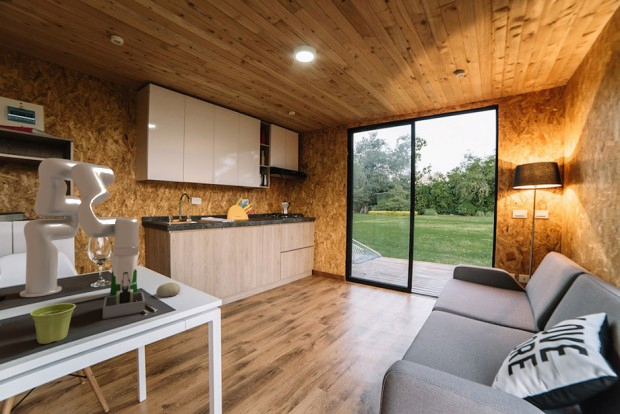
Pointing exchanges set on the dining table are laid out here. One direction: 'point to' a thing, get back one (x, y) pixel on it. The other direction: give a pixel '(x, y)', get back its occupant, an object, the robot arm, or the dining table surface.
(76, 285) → the dining table surface
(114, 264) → the milk carton
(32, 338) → the dining table surface
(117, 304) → the olive block
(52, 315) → the plant pot
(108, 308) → the tray
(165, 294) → the sea urchin shell
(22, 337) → the dining table surface
